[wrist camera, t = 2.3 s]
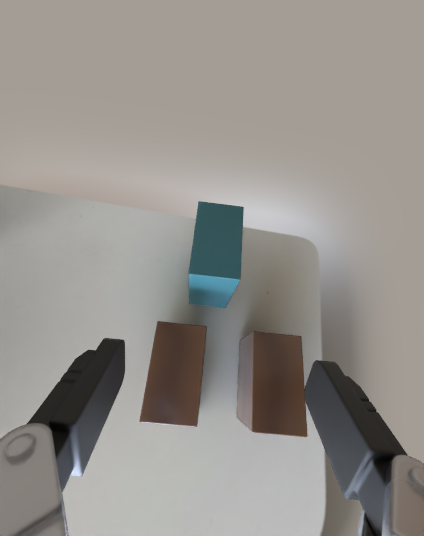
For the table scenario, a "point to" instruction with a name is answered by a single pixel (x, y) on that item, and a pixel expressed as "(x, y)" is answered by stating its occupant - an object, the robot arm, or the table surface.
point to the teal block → (215, 254)
